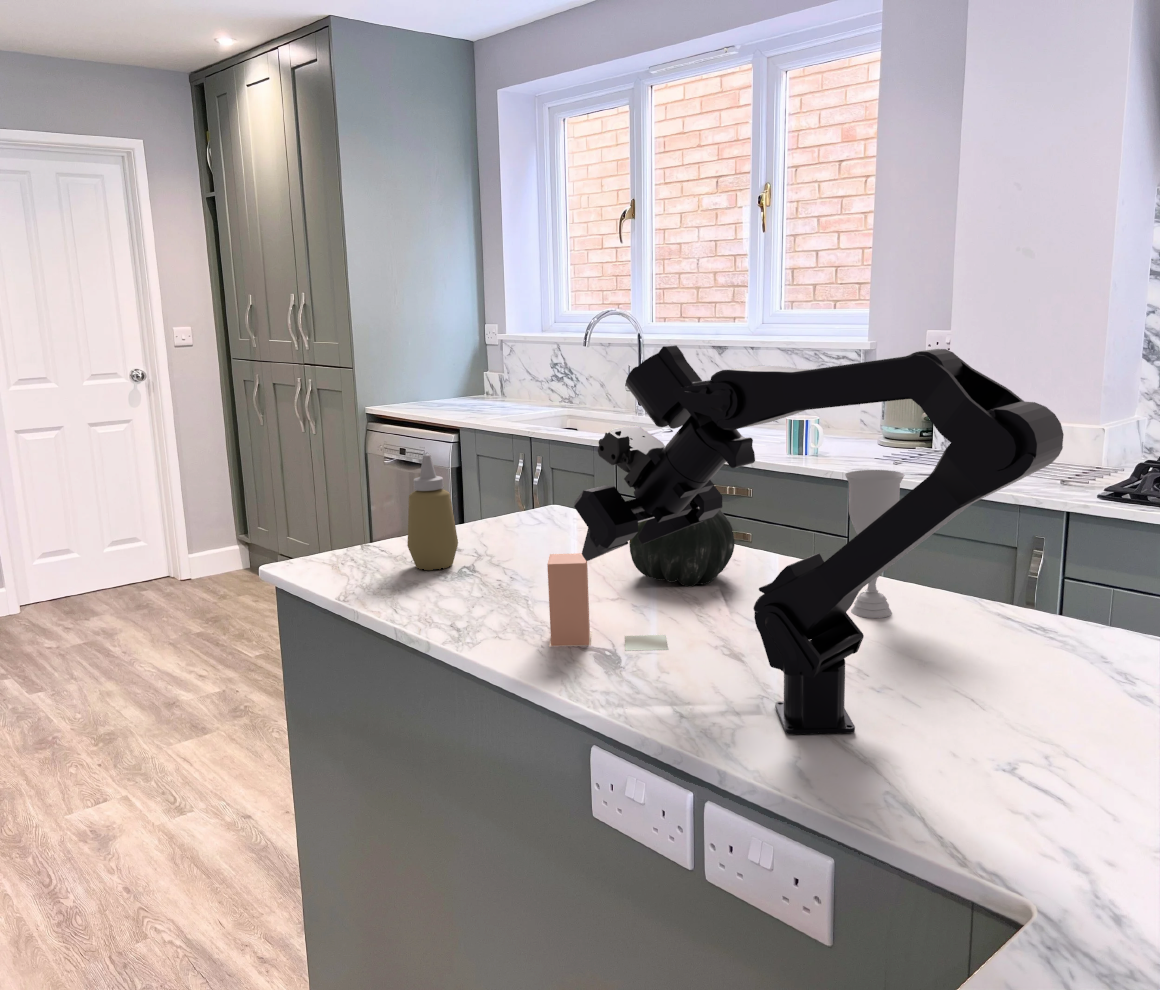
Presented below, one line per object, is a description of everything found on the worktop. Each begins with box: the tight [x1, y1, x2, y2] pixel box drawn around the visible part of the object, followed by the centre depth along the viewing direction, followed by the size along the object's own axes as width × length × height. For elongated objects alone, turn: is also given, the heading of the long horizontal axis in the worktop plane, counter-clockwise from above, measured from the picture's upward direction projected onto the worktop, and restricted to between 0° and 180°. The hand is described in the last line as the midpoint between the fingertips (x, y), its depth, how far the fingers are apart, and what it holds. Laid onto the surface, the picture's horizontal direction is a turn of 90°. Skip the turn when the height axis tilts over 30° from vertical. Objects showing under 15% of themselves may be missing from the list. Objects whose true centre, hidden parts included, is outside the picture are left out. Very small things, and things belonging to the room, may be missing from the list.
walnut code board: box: [548, 630, 669, 652], centre depth 114 cm, size 8×14×1 cm, turn 88°
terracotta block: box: [546, 552, 591, 646], centre depth 115 cm, size 4×4×10 cm
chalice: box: [845, 469, 905, 619], centre depth 122 cm, size 7×7×18 cm
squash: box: [628, 508, 735, 587], centre depth 139 cm, size 14×15×15 cm
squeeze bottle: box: [407, 454, 459, 571], centre depth 152 cm, size 8×8×18 cm
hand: (613, 548), depth 108 cm, fingers open, 9 cm apart
